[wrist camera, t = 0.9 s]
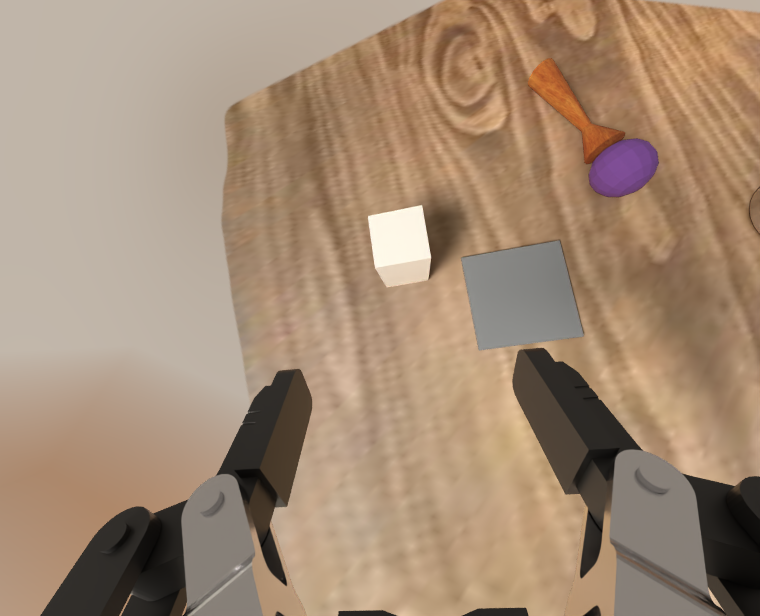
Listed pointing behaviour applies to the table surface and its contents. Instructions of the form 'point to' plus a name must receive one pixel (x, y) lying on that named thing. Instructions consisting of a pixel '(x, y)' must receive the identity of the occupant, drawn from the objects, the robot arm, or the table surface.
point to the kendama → (598, 139)
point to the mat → (521, 296)
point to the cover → (400, 246)
